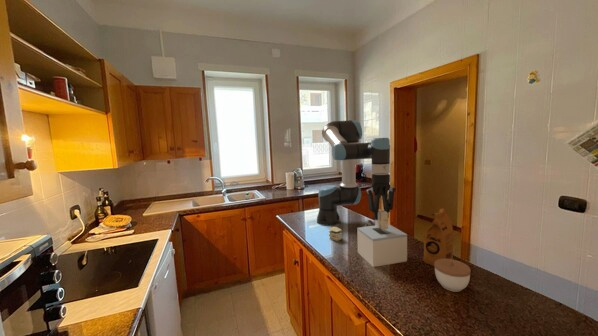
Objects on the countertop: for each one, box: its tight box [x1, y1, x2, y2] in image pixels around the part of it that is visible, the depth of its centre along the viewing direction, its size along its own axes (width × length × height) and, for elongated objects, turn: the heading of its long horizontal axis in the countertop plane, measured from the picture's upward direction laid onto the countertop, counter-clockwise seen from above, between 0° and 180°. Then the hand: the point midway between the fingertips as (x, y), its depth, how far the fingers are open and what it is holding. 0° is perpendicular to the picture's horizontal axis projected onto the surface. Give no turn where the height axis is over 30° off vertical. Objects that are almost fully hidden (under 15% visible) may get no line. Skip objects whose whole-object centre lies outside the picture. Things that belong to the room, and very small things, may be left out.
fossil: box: [363, 219, 375, 227], centre depth 134 cm, size 11×9×10 cm
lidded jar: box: [434, 258, 472, 293], centre depth 85 cm, size 11×11×9 cm
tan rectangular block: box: [378, 209, 389, 230], centre depth 108 cm, size 6×3×7 cm, turn 13°
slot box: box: [356, 223, 408, 268], centre depth 109 cm, size 14×16×12 cm
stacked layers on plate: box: [328, 226, 343, 242], centre depth 132 cm, size 10×9×6 cm
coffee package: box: [423, 208, 454, 267], centre depth 102 cm, size 10×12×22 cm
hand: (381, 226), depth 108 cm, fingers closed on tan rectangular block, 3 cm apart
